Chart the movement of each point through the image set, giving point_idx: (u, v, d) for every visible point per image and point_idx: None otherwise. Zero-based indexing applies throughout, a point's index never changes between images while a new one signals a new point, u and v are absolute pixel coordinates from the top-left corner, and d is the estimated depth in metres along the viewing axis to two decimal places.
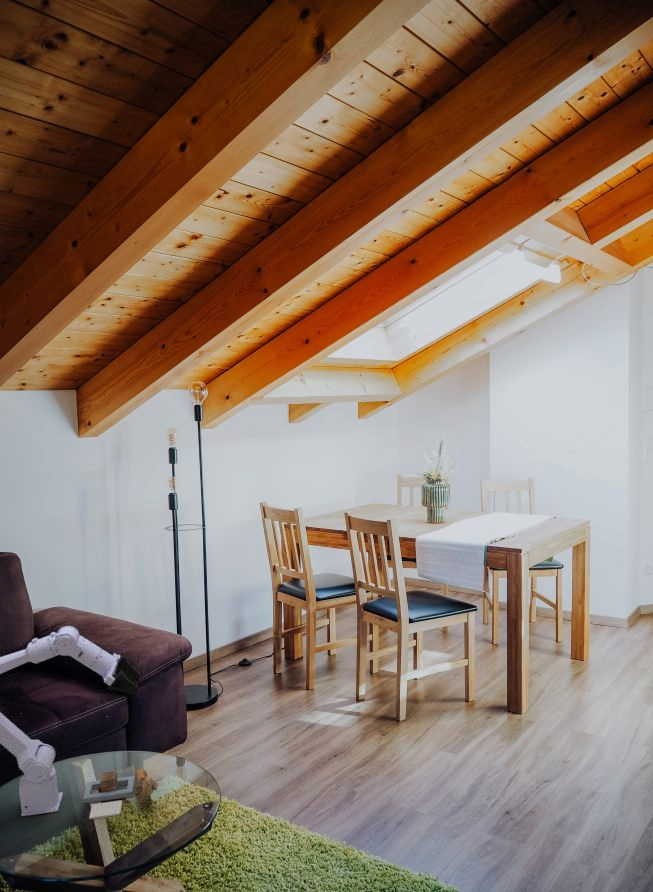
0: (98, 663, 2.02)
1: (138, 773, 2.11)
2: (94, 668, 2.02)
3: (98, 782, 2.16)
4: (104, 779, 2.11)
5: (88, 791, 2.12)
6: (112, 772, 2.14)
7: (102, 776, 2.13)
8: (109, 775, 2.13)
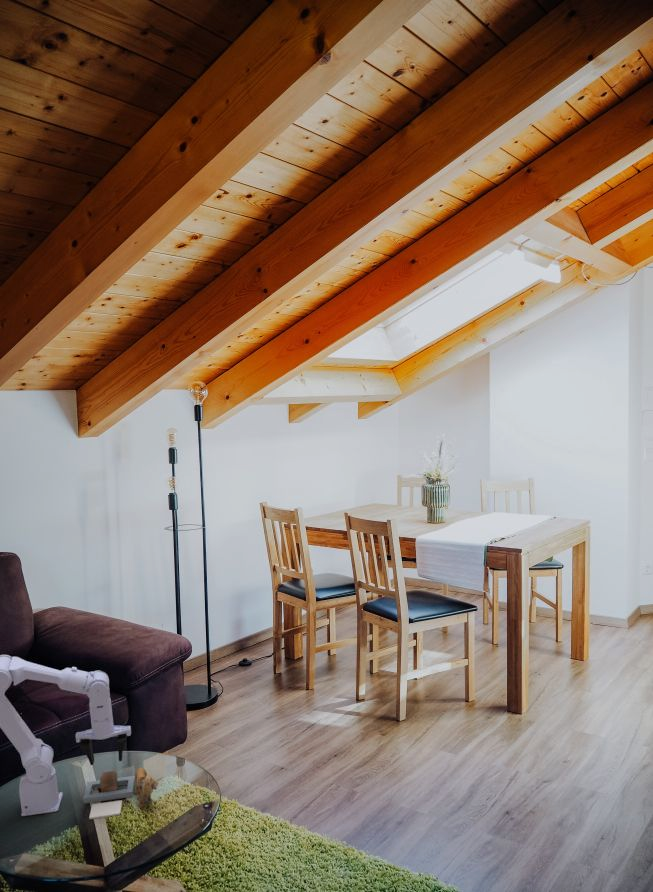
0: (112, 717, 2.11)
1: (138, 772, 2.11)
2: (110, 721, 2.09)
3: (98, 782, 2.16)
4: (104, 779, 2.11)
5: (88, 791, 2.12)
6: (112, 772, 2.14)
7: (102, 776, 2.13)
8: (109, 775, 2.13)
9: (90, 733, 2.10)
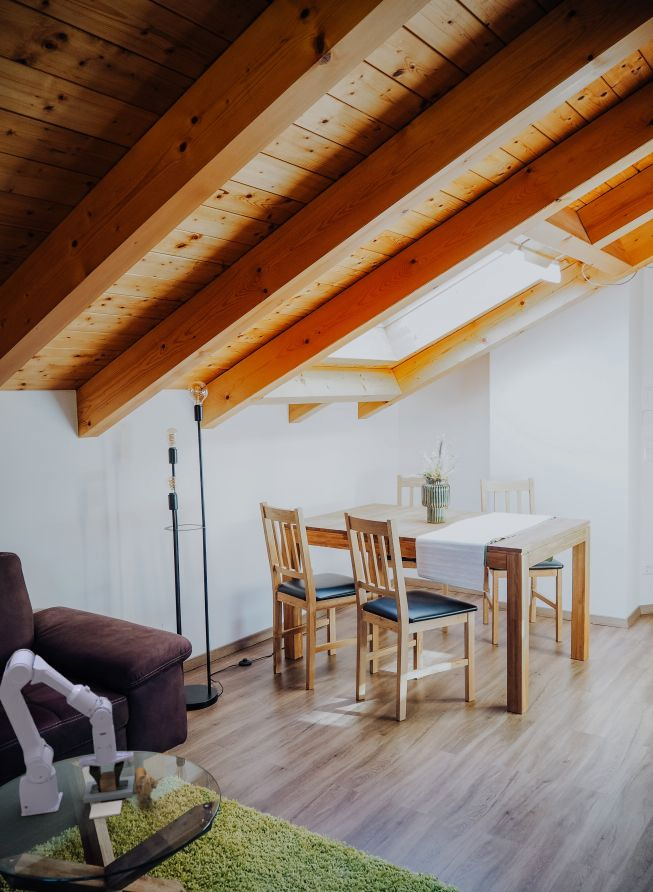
0: (115, 743, 2.12)
1: (137, 772, 2.11)
2: (113, 747, 2.10)
3: None
4: (104, 779, 2.11)
5: (88, 791, 2.12)
6: (112, 772, 2.14)
7: (102, 776, 2.13)
8: (109, 775, 2.13)
9: (93, 759, 2.11)
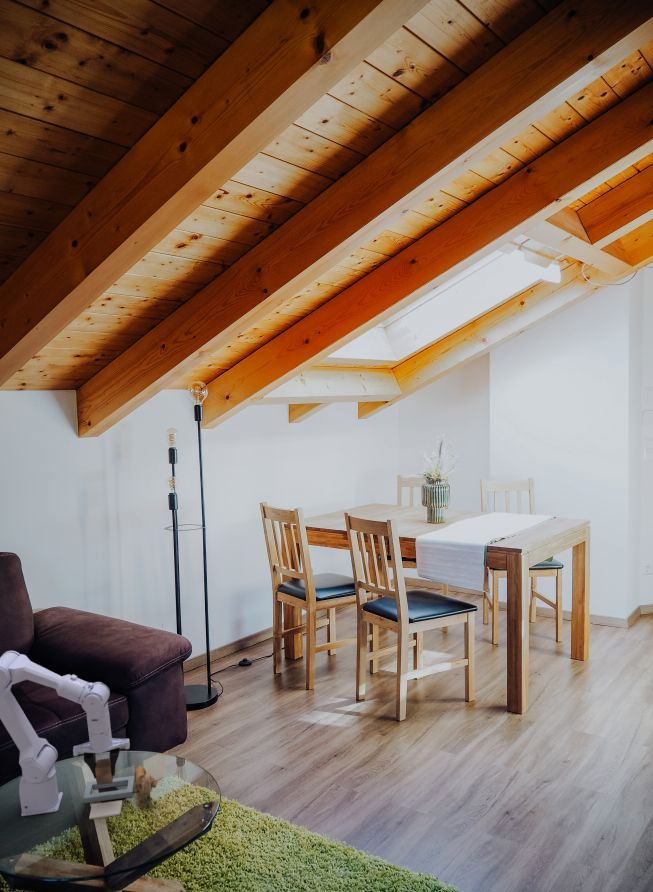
0: (110, 730, 2.06)
1: (137, 771, 2.12)
2: (108, 734, 2.04)
3: None
4: (99, 766, 2.05)
5: (88, 791, 2.12)
6: (107, 759, 2.08)
7: (97, 763, 2.07)
8: (105, 762, 2.07)
9: (88, 746, 2.05)
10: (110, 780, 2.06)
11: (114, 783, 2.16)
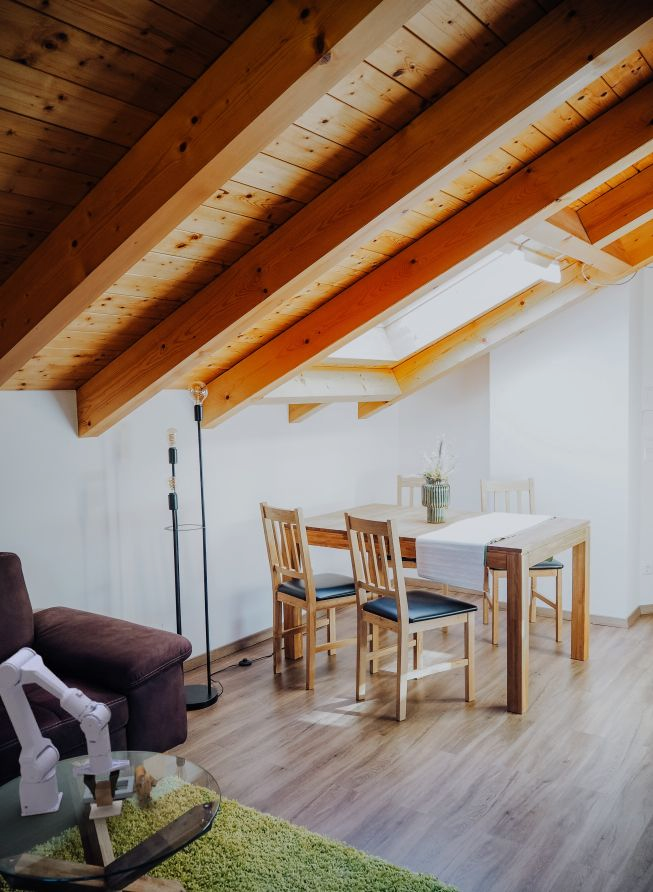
0: (110, 751, 2.03)
1: (137, 770, 2.12)
2: (108, 755, 2.02)
3: None
4: (99, 788, 2.03)
5: (88, 791, 2.12)
6: (108, 781, 2.06)
7: (97, 785, 2.04)
8: (105, 784, 2.05)
9: (88, 768, 2.03)
10: (110, 802, 2.04)
11: None
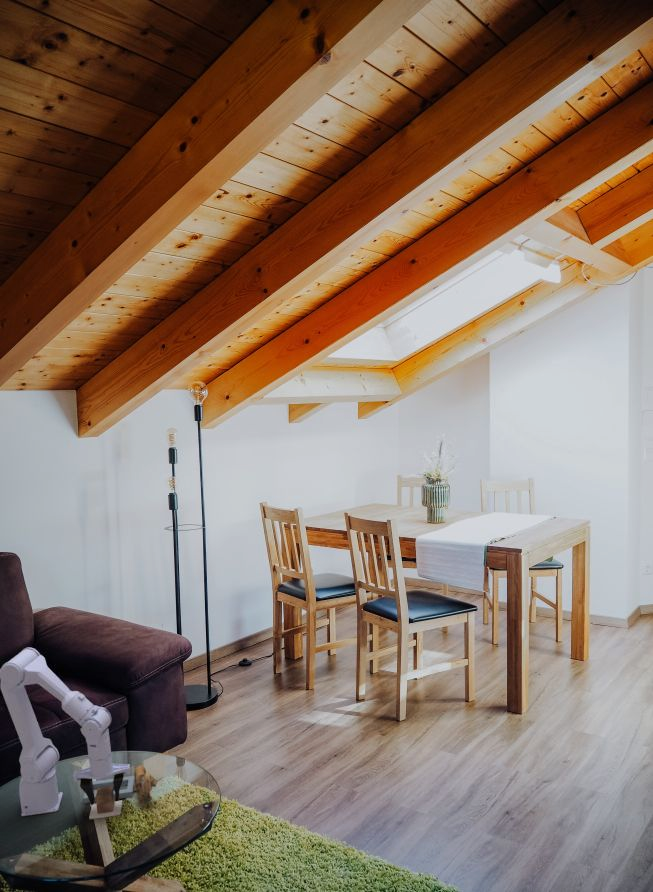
0: None
1: (137, 770, 2.12)
2: (109, 760, 2.02)
3: (98, 782, 2.16)
4: (100, 795, 2.03)
5: None
6: (108, 787, 2.06)
7: (98, 792, 2.05)
8: (106, 790, 2.05)
9: (88, 772, 2.03)
10: (111, 809, 2.04)
11: None
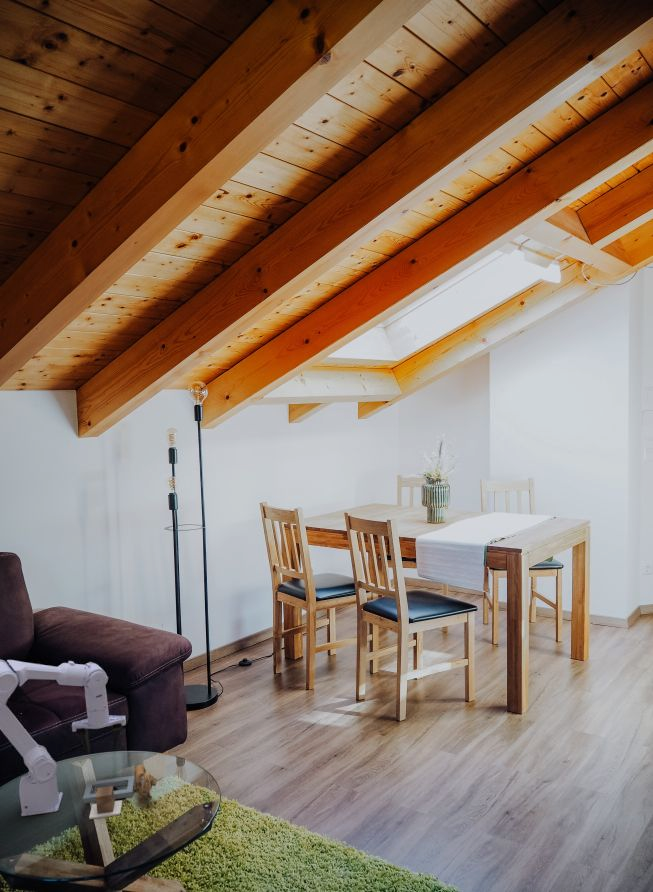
0: (107, 707, 2.16)
1: (137, 769, 2.12)
2: (105, 711, 2.14)
3: (98, 782, 2.16)
4: (100, 795, 2.03)
5: (88, 791, 2.12)
6: (108, 787, 2.06)
7: (98, 792, 2.05)
8: (106, 790, 2.05)
9: (86, 723, 2.15)
10: (111, 809, 2.04)
11: (114, 783, 2.16)
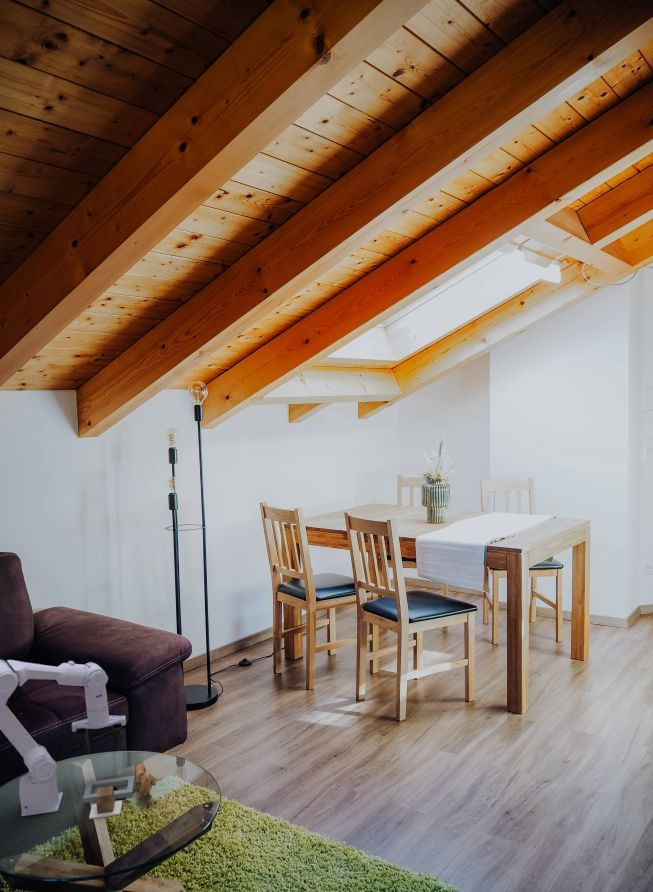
0: (107, 707, 2.16)
1: (137, 769, 2.13)
2: (105, 711, 2.14)
3: (98, 782, 2.16)
4: (100, 795, 2.03)
5: (88, 791, 2.12)
6: (108, 787, 2.06)
7: (98, 792, 2.05)
8: (106, 790, 2.05)
9: (86, 723, 2.15)
10: (111, 809, 2.04)
11: (114, 783, 2.16)
